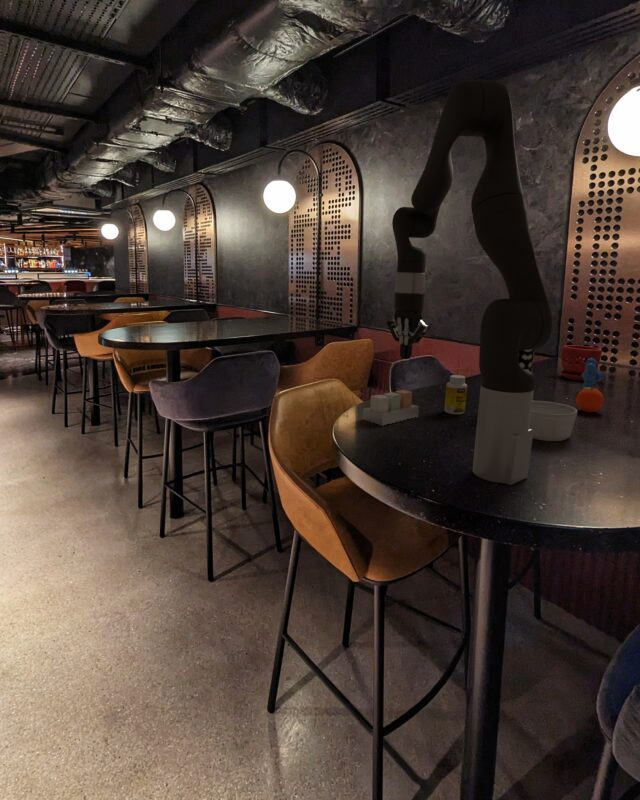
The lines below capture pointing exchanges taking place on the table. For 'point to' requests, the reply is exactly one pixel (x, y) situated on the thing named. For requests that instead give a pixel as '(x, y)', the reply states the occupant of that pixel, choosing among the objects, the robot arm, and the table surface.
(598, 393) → the clementine
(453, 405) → the supplement bottle
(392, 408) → the key sage
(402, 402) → the key terracotta
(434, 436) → the table surface
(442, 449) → the table surface
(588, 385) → the grapes
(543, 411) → the ramekin
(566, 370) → the plant pot
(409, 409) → the keypad frame
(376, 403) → the key ivory
